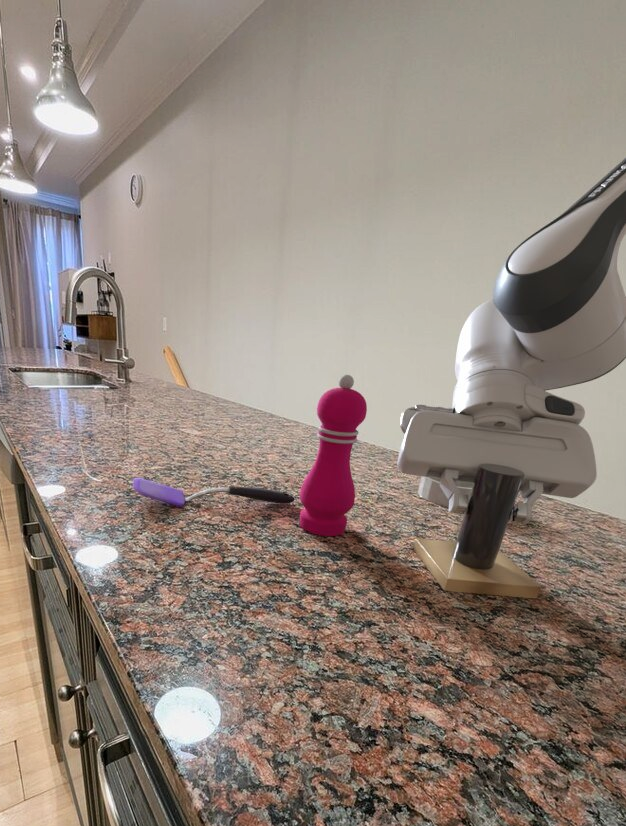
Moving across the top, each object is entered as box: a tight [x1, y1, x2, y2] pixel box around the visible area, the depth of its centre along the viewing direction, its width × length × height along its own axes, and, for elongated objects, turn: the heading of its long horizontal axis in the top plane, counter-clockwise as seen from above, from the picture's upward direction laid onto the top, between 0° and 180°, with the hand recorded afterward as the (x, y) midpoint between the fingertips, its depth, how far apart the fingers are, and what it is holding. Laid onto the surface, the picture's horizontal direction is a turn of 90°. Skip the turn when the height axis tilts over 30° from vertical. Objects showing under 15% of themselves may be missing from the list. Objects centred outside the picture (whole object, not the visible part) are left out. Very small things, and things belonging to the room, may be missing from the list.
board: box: [412, 538, 542, 600], centre depth 52 cm, size 10×10×2 cm
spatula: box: [132, 477, 295, 508], centre depth 66 cm, size 24×7×2 cm, turn 98°
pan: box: [417, 476, 473, 508], centre depth 75 cm, size 10×10×4 cm
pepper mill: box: [298, 374, 368, 537], centre depth 57 cm, size 7×7×20 cm
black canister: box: [452, 464, 525, 569], centre depth 50 cm, size 4×4×11 cm
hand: (488, 516), depth 49 cm, fingers open, 5 cm apart
